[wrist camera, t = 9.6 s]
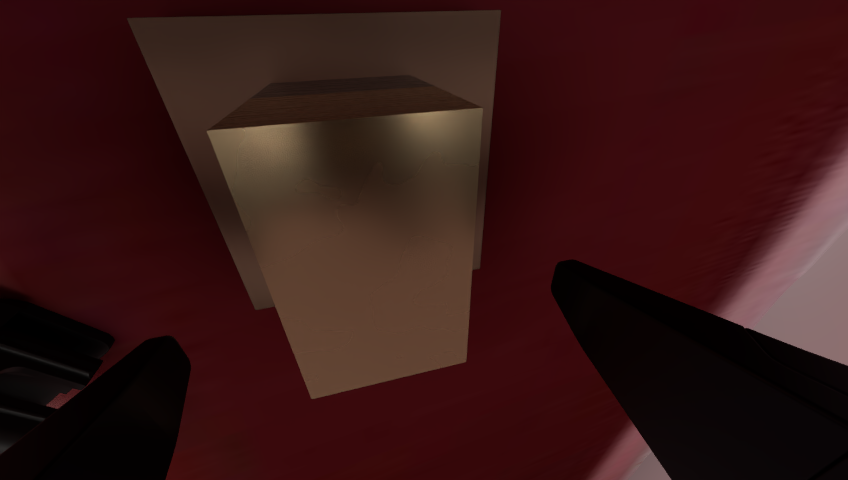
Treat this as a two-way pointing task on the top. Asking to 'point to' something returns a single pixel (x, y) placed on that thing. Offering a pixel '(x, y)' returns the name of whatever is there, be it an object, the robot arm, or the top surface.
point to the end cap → (41, 363)
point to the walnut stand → (307, 61)
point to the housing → (359, 220)
